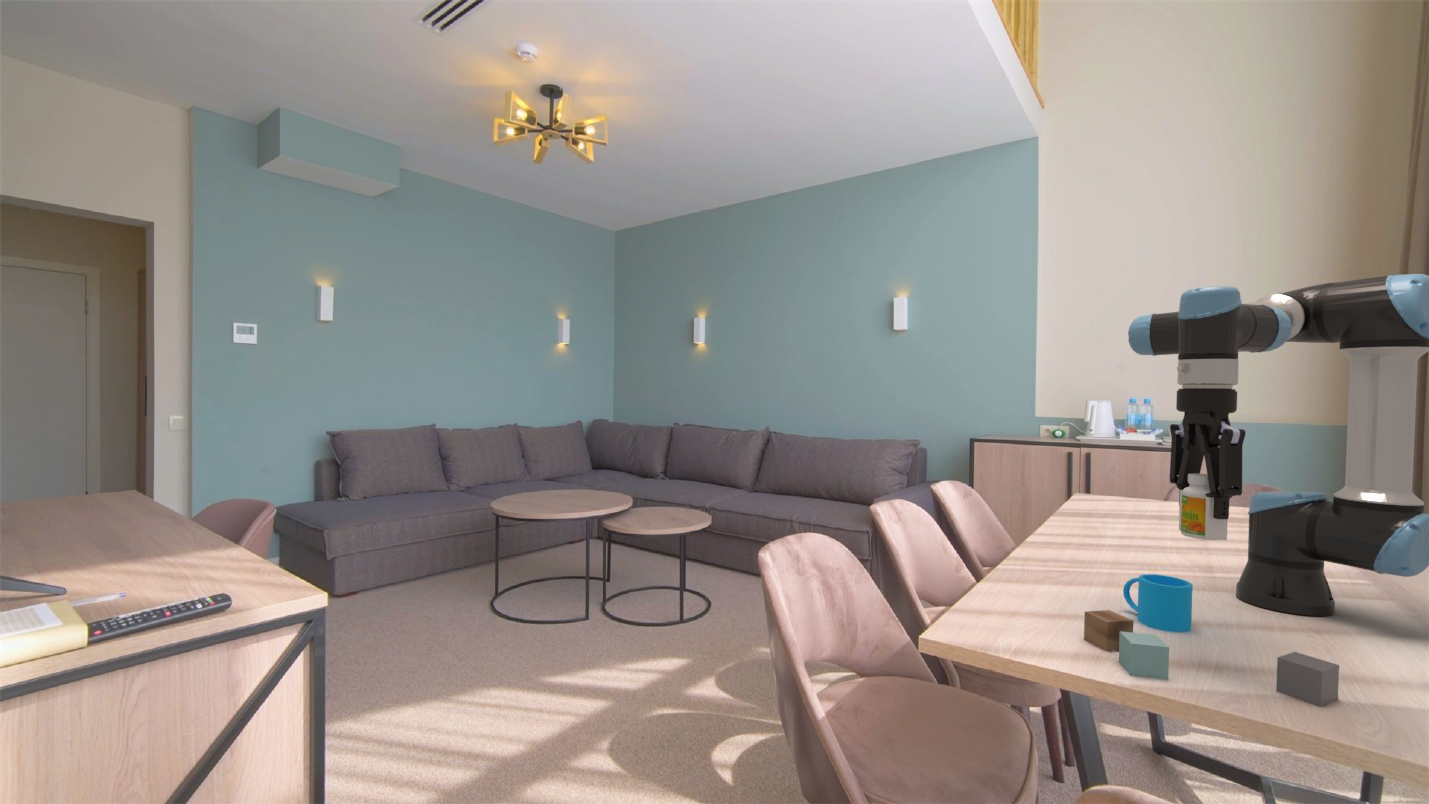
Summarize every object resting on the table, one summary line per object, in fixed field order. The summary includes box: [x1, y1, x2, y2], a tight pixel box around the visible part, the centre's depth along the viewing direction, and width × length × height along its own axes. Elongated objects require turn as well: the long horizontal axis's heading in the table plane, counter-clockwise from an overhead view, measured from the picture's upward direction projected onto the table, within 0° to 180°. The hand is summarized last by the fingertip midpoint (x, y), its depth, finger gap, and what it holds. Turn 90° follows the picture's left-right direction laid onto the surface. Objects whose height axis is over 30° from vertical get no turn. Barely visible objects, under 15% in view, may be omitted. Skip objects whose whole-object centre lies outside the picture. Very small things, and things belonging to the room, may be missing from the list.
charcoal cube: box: [1275, 651, 1340, 708], centre depth 91 cm, size 5×5×5 cm
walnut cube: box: [1083, 609, 1134, 652], centre depth 109 cm, size 5×5×5 cm
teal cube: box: [1118, 631, 1170, 681], centre depth 99 cm, size 5×5×5 cm
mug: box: [1122, 573, 1193, 633], centre depth 120 cm, size 12×8×8 cm
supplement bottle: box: [1180, 473, 1210, 541], centre depth 100 cm, size 5×5×10 cm
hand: (1202, 534), depth 100 cm, fingers closed on supplement bottle, 5 cm apart
